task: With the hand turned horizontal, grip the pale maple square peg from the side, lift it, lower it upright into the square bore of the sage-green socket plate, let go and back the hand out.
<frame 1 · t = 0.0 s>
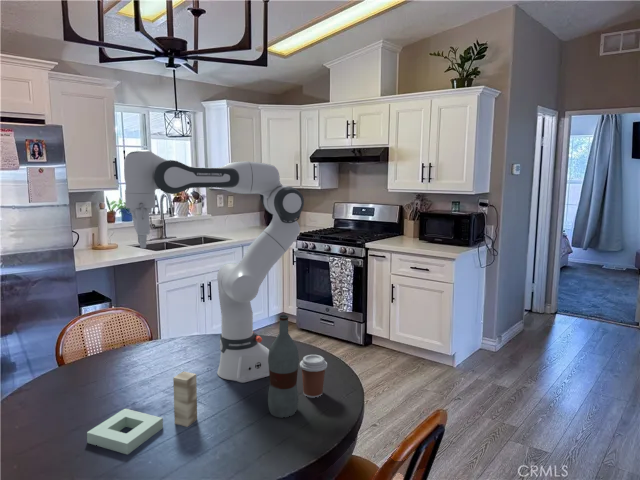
hand: (142, 245, 147), 48 cm above the table, tool pointing down, fingers open, 8 cm apart
socket plate: (126, 435, 126), on the table
bottle: (283, 411, 140), on the table
coffee cup: (312, 393, 152), on the table
peg: (186, 421, 133), on the table
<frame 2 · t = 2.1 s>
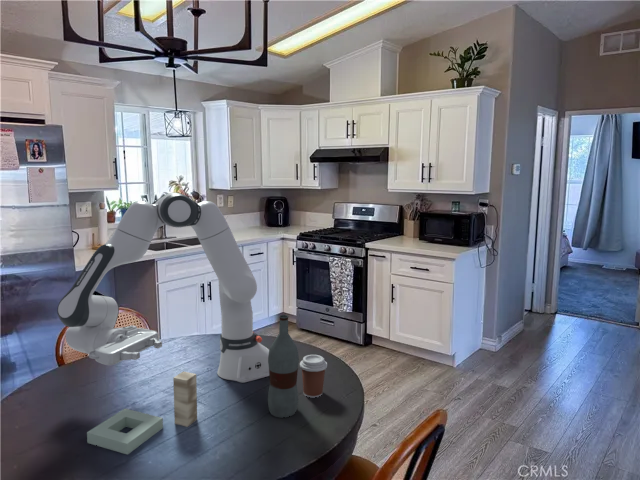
hand: (149, 350, 135), 20 cm above the table, tool horizontal, fingers open, 8 cm apart
nothing on the table moved.
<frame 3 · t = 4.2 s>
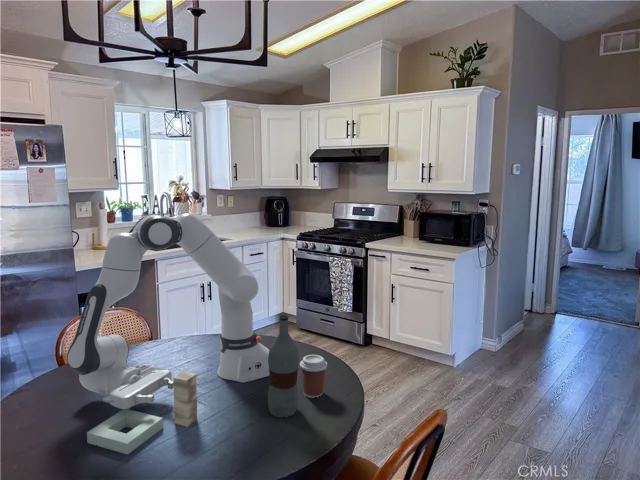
hand: (163, 392, 135), 7 cm above the table, tool horizontal, fingers open, 8 cm apart
nothing on the table moved.
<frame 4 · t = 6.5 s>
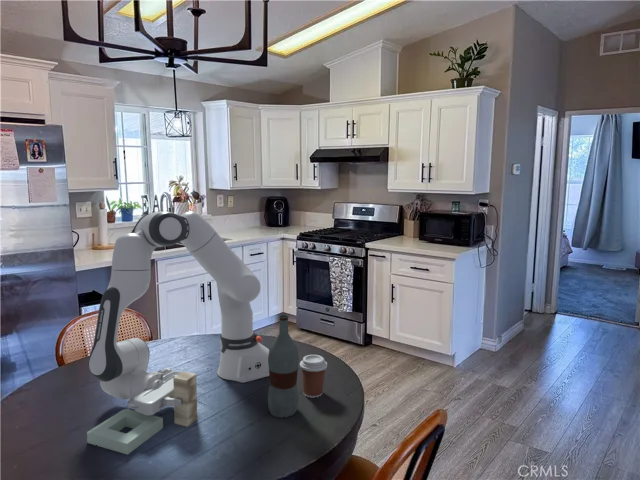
hand: (188, 397, 132), 8 cm above the table, tool horizontal, fingers closed on peg, 4 cm apart
peg: (186, 421, 133), on the table, touching gripper
everything else where it was.
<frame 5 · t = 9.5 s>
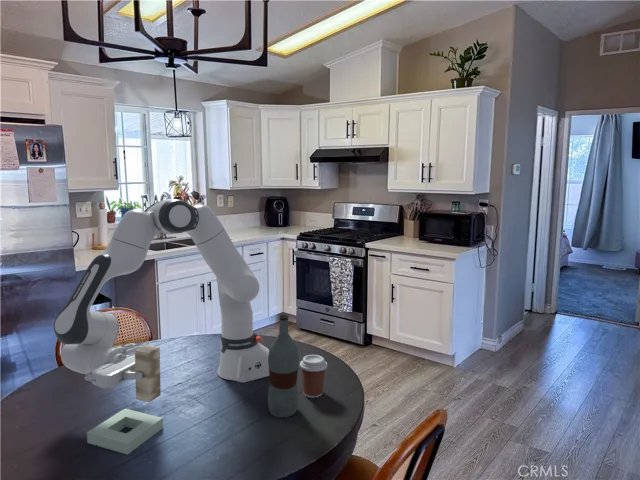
hand: (150, 371, 126), 17 cm above the table, tool horizontal, fingers closed on peg, 4 cm apart
peg: (148, 397, 127), point 10 cm above the table, touching gripper
everything else where it was.
when the fingers open (8 cm above the table, at t = 12.8 s): peg stays where it is, resting in socket plate.
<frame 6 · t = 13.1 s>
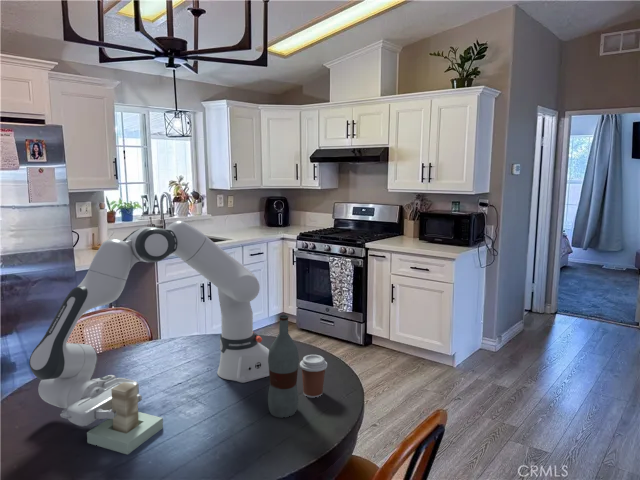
hand: (127, 406, 124), 8 cm above the table, tool horizontal, fingers open, 8 cm apart
peg: (126, 435, 126), resting in socket plate
everything else where it was.
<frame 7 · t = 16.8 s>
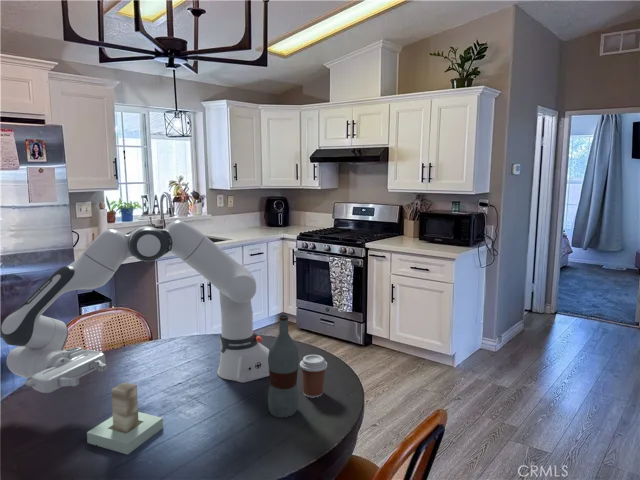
hand: (91, 374, 128), 15 cm above the table, tool horizontal, fingers open, 8 cm apart
nothing on the table moved.
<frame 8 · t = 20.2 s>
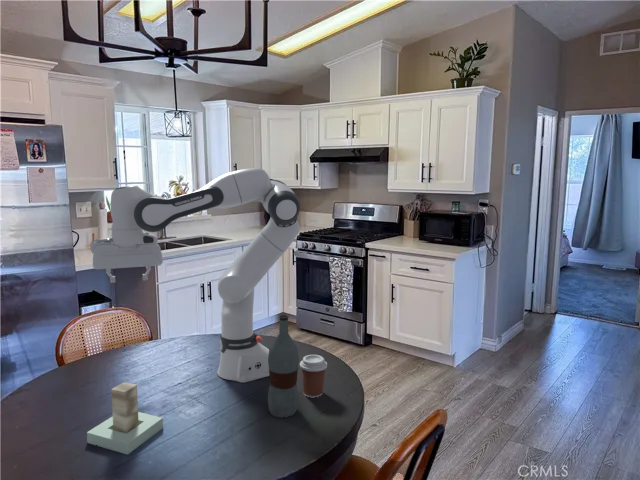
hand: (129, 281, 145), 37 cm above the table, tool pointing down, fingers open, 8 cm apart
nothing on the table moved.
at the end: peg 0.0 cm off-centre on the socket plate, point 0.0 cm above the socket plate's base; peg tilted 0°; the gripper is holding nothing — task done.
